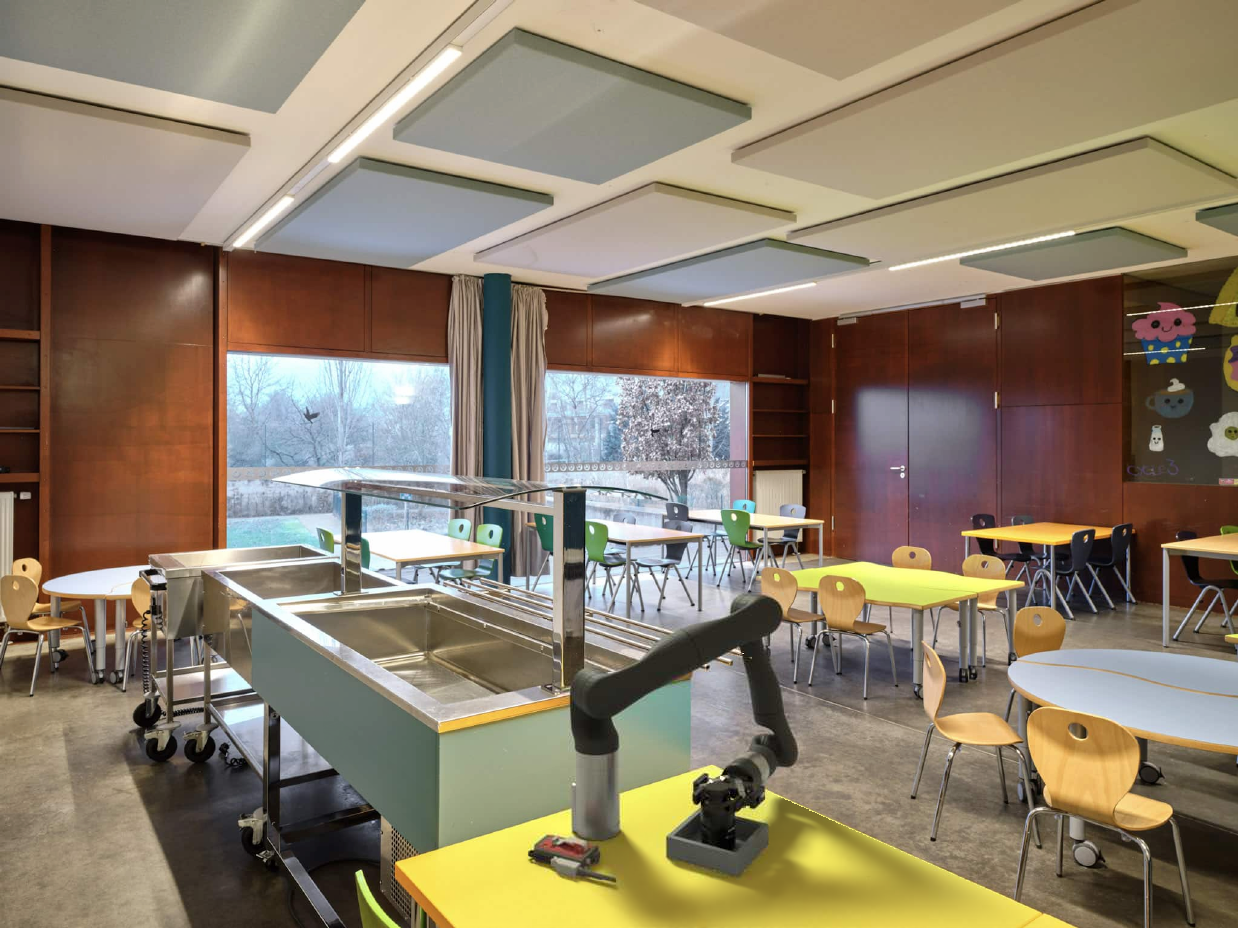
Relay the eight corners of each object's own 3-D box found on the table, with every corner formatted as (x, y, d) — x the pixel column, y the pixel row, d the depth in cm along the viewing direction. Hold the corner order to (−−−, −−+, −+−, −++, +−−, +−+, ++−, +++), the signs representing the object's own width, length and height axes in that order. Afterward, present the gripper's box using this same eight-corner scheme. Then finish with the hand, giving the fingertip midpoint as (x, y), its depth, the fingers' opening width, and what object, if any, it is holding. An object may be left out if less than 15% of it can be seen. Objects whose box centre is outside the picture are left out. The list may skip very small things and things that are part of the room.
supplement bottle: (738, 855, 152) (736, 793, 152) (702, 856, 152) (701, 793, 152) (733, 838, 159) (732, 778, 159) (699, 839, 159) (698, 779, 159)
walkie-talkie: (520, 865, 151) (613, 891, 142) (520, 842, 151) (612, 866, 142) (546, 845, 159) (635, 868, 150) (545, 823, 159) (634, 845, 150)
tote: (666, 857, 153) (666, 836, 153) (700, 826, 166) (700, 807, 166) (738, 877, 145) (738, 856, 145) (768, 843, 158) (768, 823, 158)
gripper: (714, 751, 172) (679, 777, 158) (778, 763, 164) (747, 792, 150) (715, 785, 172) (680, 815, 158) (778, 800, 164) (747, 832, 150)
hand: (713, 804), depth 154 cm, fingers open, 7 cm apart
